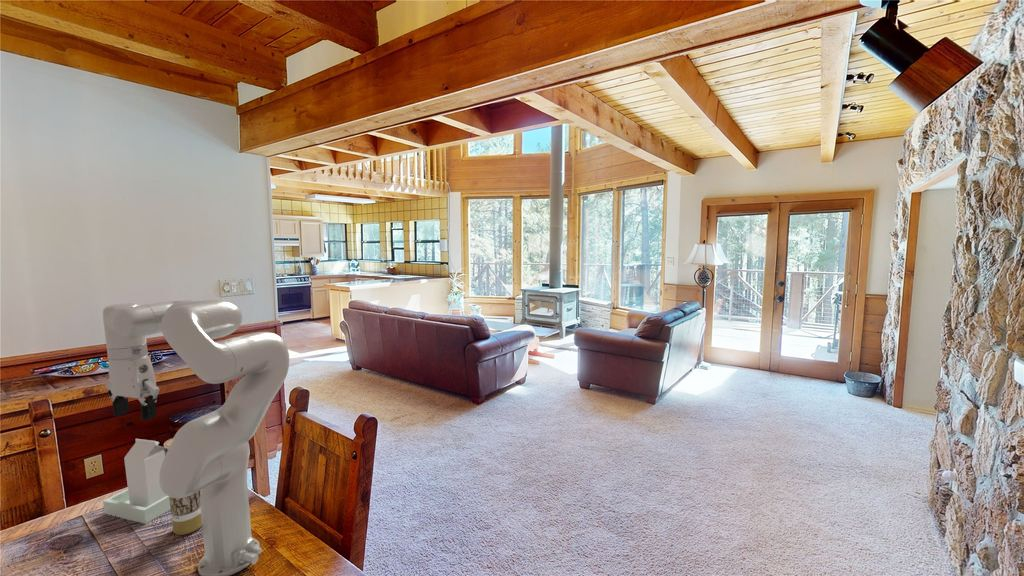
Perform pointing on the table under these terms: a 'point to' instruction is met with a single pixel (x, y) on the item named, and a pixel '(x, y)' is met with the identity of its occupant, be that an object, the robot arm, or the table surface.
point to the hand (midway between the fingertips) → (135, 416)
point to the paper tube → (185, 509)
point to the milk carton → (144, 472)
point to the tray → (134, 508)
